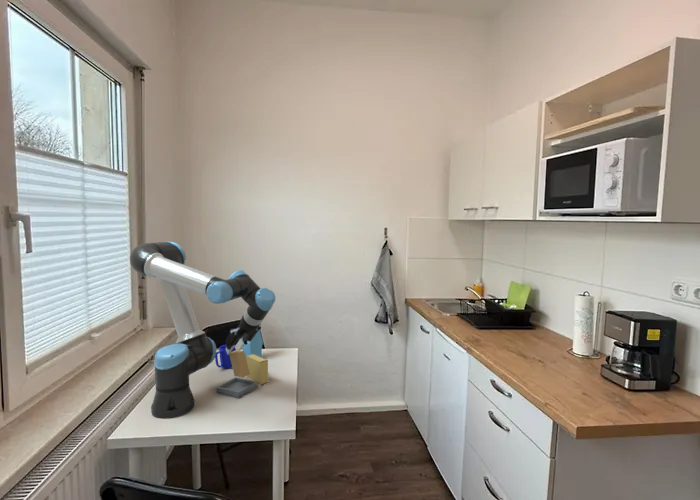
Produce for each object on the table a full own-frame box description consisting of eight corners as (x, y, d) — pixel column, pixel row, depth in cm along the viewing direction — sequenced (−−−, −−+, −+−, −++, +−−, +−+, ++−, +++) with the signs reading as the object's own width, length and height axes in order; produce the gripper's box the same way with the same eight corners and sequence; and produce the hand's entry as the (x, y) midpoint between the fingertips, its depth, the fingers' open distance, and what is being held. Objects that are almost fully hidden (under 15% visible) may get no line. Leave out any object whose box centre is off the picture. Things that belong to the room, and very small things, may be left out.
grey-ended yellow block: (268, 383, 182) (268, 360, 181) (261, 385, 179) (261, 362, 178) (253, 375, 190) (253, 353, 190) (246, 377, 188) (246, 355, 187)
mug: (209, 370, 197) (209, 350, 196) (228, 363, 207) (227, 343, 207) (222, 373, 193) (222, 352, 192) (240, 365, 204) (240, 345, 203)
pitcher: (241, 360, 211) (240, 321, 210) (253, 356, 217) (253, 318, 216) (250, 363, 206) (249, 324, 205) (263, 359, 212) (262, 321, 211)
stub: (249, 374, 172) (244, 351, 171) (242, 377, 169) (236, 354, 169) (241, 372, 177) (236, 349, 176) (234, 375, 174) (228, 352, 174)
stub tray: (238, 398, 166) (238, 392, 166) (216, 393, 171) (216, 387, 171) (258, 387, 177) (257, 381, 177) (236, 382, 182) (235, 377, 182)
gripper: (236, 330, 155) (216, 363, 168) (274, 323, 167) (252, 353, 180) (229, 314, 158) (210, 347, 171) (266, 307, 170) (246, 339, 183)
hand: (232, 350), depth 176 cm, fingers closed on stub, 4 cm apart
